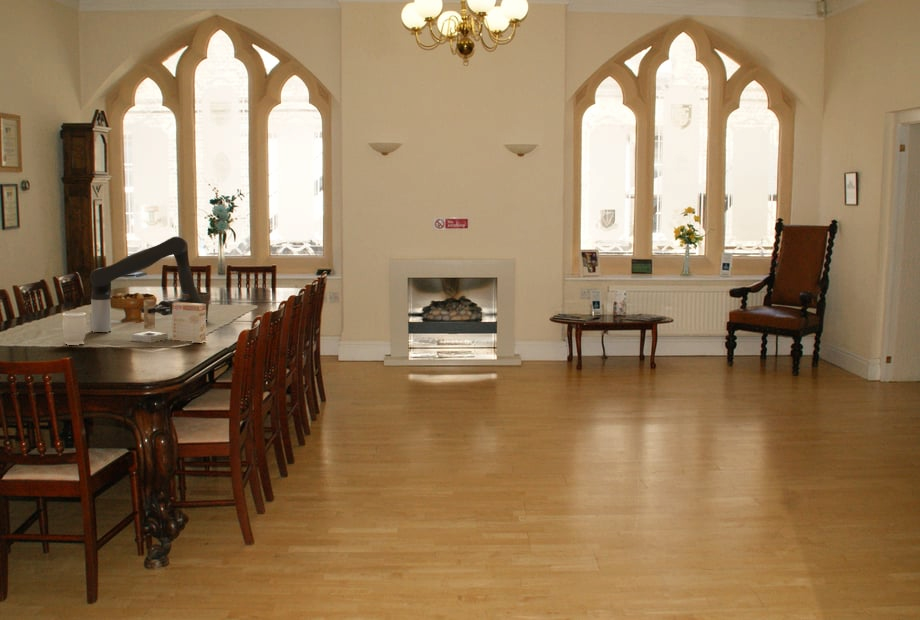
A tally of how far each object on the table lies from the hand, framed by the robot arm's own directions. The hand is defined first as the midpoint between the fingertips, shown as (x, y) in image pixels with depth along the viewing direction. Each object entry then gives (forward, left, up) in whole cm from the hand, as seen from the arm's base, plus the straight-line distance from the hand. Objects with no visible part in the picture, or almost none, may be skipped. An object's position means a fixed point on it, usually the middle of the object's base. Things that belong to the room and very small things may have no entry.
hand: (145, 310), depth 434 cm
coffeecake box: (+16, +13, -16) cm, 26 cm away
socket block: (0, +3, -16) cm, 16 cm away
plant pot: (-28, +70, -16) cm, 77 cm away
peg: (0, +3, -9) cm, 9 cm away
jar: (-23, -22, -16) cm, 36 cm away
